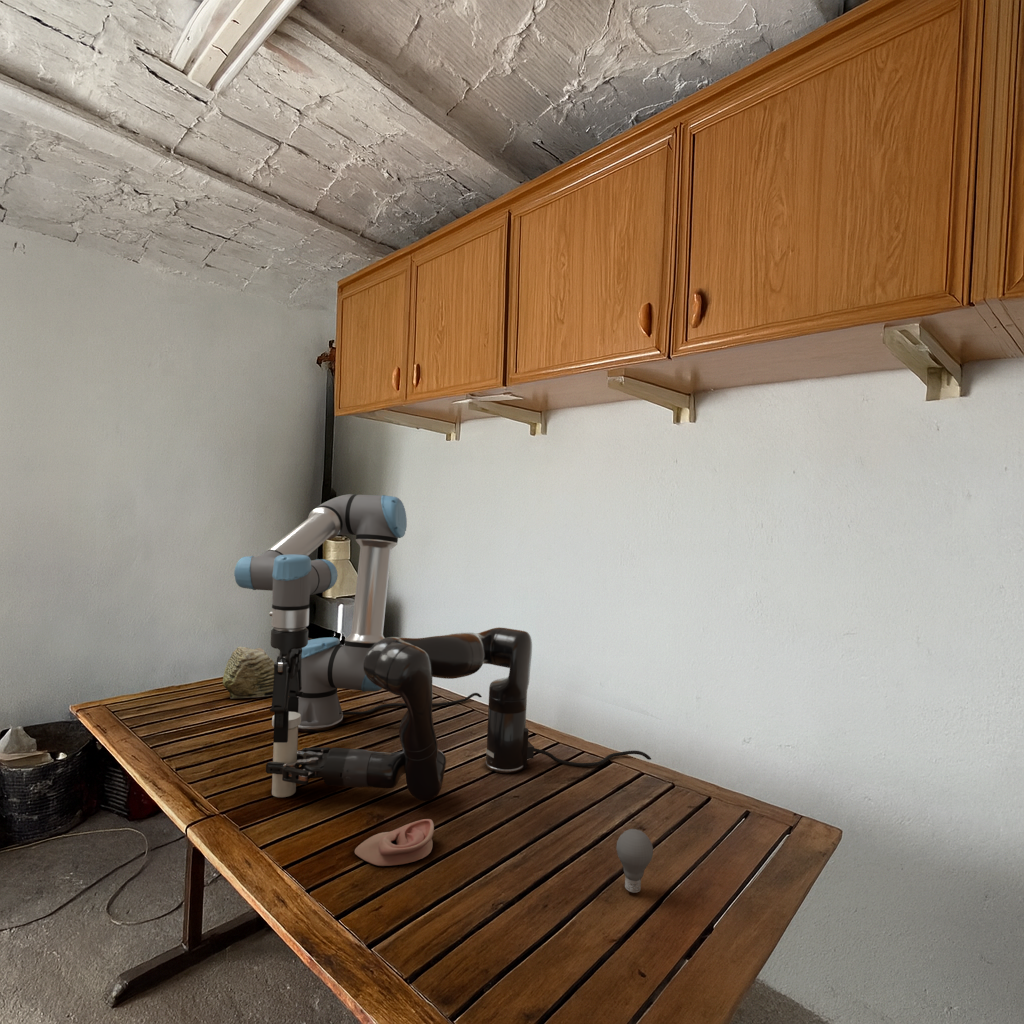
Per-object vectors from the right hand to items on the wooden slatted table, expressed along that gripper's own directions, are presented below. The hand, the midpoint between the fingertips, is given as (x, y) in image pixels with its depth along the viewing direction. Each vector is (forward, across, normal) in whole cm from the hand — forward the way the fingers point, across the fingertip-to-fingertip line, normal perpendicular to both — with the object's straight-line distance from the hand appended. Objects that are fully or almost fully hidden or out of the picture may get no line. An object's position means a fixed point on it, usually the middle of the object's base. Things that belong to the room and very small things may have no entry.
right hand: (272, 762), depth 135 cm
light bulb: (-73, +25, +6) cm, 78 cm away
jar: (-3, 0, +6) cm, 7 cm away
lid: (-3, 0, -10) cm, 10 cm away
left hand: (-3, 0, -6) cm, 7 cm away
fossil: (+33, -61, +6) cm, 69 cm away
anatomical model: (-31, +18, +6) cm, 37 cm away
